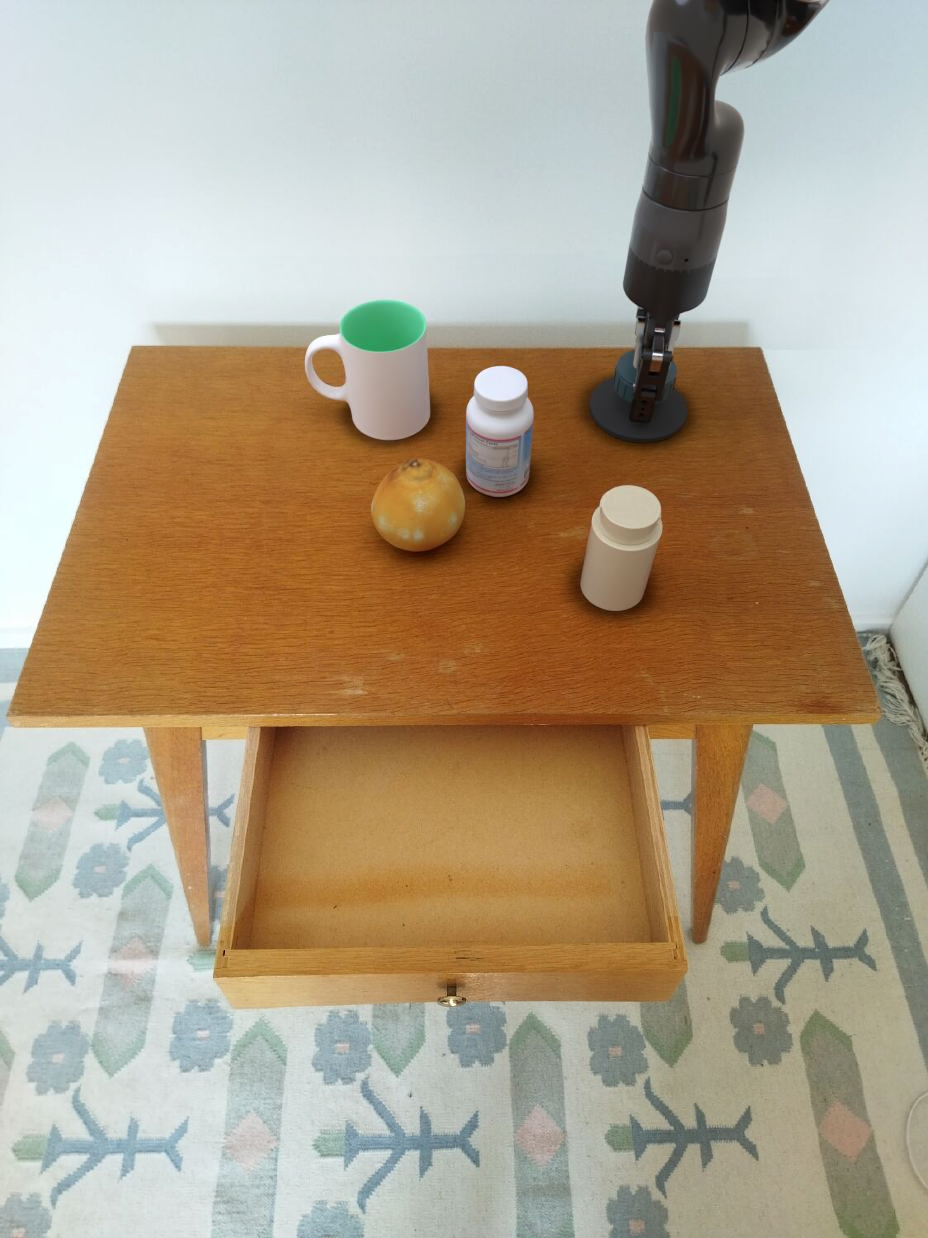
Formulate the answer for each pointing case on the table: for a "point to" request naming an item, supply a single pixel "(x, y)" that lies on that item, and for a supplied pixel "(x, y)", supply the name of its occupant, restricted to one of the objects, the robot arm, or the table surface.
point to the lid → (627, 375)
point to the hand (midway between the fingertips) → (640, 399)
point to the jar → (621, 547)
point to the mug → (380, 368)
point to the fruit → (418, 505)
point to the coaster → (615, 421)
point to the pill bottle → (499, 432)
